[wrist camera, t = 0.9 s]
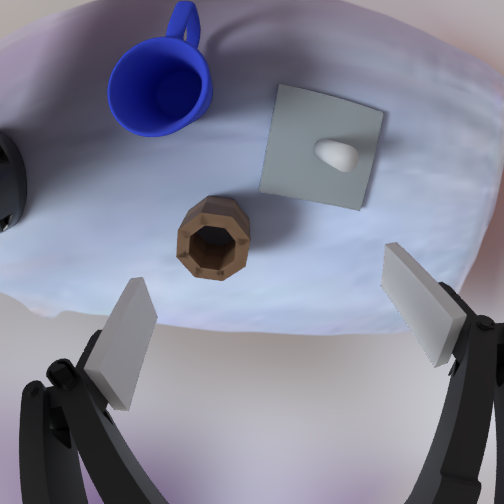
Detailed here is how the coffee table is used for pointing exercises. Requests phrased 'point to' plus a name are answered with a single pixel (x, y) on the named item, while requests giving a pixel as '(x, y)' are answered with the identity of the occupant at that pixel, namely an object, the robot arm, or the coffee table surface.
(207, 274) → the ring
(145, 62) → the mug
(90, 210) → the coffee table surface
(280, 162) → the square plate with peg
